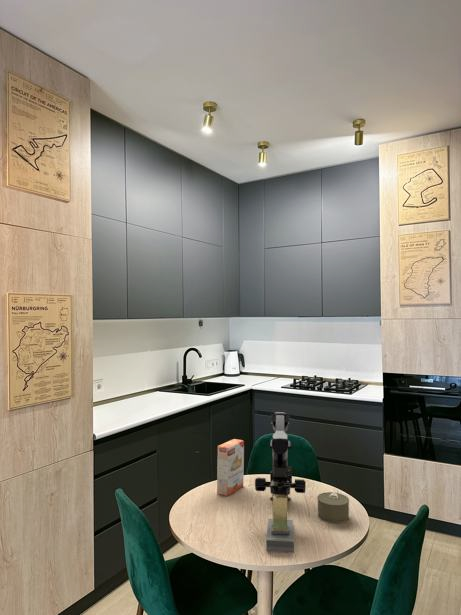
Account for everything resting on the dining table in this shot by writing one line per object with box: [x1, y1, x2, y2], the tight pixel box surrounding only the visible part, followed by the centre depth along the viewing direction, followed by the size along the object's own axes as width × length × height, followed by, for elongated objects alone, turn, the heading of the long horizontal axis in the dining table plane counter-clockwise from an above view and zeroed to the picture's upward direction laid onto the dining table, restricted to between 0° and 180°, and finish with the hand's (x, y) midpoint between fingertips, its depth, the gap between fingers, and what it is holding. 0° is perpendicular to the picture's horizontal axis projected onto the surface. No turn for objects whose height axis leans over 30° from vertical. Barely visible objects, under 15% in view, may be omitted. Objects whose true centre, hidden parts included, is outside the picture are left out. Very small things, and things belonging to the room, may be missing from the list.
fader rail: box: [265, 518, 295, 554], centre depth 153 cm, size 20×9×4 cm, turn 173°
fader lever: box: [272, 494, 289, 535], centre depth 153 cm, size 5×6×12 cm
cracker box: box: [216, 438, 245, 497], centre depth 195 cm, size 14×6×21 cm, turn 148°
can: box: [316, 491, 350, 524], centre depth 169 cm, size 12×12×7 cm
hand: (280, 508), depth 158 cm, fingers closed
